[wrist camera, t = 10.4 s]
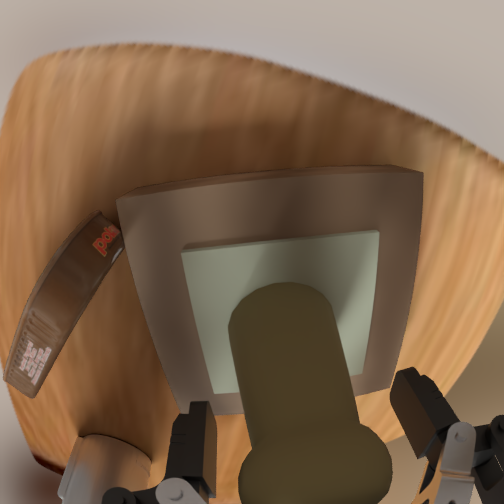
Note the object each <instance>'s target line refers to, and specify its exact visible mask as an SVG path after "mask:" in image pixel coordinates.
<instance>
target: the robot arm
mask: <svg viewBox="0 0 504 504" xmlns="http://www.w3.org/2000/svg"><path fill="white" fill-rule="evenodd" d="M390 402H391V405H392V408H393V409H394V411H395V413H396V415H397V417H398V419H399V421H400V424H401V426H402V428H403V430H404V432H405V434H406V436H407V438H408V440H409V442H410V444H411V446H412V448H413V450H414V453H415V455H416V457H417V459H419V458H422V457H424V456H426V457H427V459H428V460H427V462H426V465H425V468H424V471H423V475H422V478H421V481H420V484H419V487H418V490H417V493H416V495H415V498H414V499H413V501H412V502H411V504H469V503H470V498H471V495H472V490H473V485H474V484H475V486H476V489H477V491H478V494H479V496H480V498H481V501H482V504H504V415H499V416H496V417H495V418H494V419H493V420H492V422H491V423H490V424H487V425H482V426H476V427H473V426H472V425H471V424H469V423H467V422H461V421H460V420H459V419H458V418H457V416H456V415H455V413H454V411H453V410H452V408H451V407H450V405H449V404H448V402H447V401H446V399H445V398H444V397H443V395H442V393H441V392H440V391H439V389H438V387H437V386H436V384H435V383H434V381H433V380H431V379H430V378H429V377H427V376H426V375H422V376H420V374H419V373H418V371H417V370H416V369H415V368H414V367H410V368H407V369H403V370H400V371H397V373H396V375H395V379H394V382H393V385H392V388H391V392H390ZM171 434H172V436H171V439H170V446H169V452H168V459H167V466H166V473H165V477H164V479H163V480H162V481H161V483H160V484H158V485H157V486H155V487H153V488H150V489H147V486H148V480H149V476H150V469H151V461H150V459H149V458H148V457H147V456H146V454H144V453H143V452H142V451H140V450H139V449H137V448H135V447H134V446H132V445H130V444H128V443H125V442H123V441H120V440H118V439H115V438H112V437H108V436H103V435H87V436H86V437H84V438H81V437H77V439H76V442H75V444H74V447H73V450H72V452H71V455H70V458H69V461H68V463H67V466H66V469H65V472H64V475H63V478H62V481H61V484H60V487H59V490H58V496H59V497H60V498H62V499H63V502H62V504H209V498H216V460H217V425H216V420H215V417H214V414H213V411H212V408H211V405H210V402H209V401H191V402H190V406H189V414H179V415H178V417H177V418H176V420H175V421H174V423H173V426H172V433H171ZM495 456H496V457H495ZM496 458H497V459H496ZM497 460H498V461H497ZM498 462H499V463H498ZM499 464H500V465H499ZM500 466H501V467H500ZM501 468H502V469H501ZM502 470H503V471H502Z"/></svg>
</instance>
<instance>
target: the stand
mask: <svg viewBox="0 0 504 504" xmlns="http://www.w3.org/2000/svg"><path fill="white" fill-rule="evenodd" d="M115 201H116V206H117V211H118V216H119V221H120V226H121V230H122V235H123V239H124V243H125V248H126V252H127V256H128V260H129V264H130V268H131V271H132V275H133V279H134V282H135V286H136V289H137V293H138V296H139V300H140V303H141V306H142V310H143V313H144V316H145V319H146V322H147V325H148V328H149V331H150V334H151V337H152V340H153V343H154V346H155V349H156V352H157V354H158V357H159V360H160V363H161V365H162V368H163V371H164V373H165V376H166V378H167V381H168V383H169V386H170V388H171V391H172V393H173V396H174V398H175V400H176V403H177V405H178V407H179V410H180V412H181V414H189V406H190V402H191V401H209V402H210V405H211V408H212V411H213V414H214V415H233V414H244V410H243V406H242V401H241V396H240V392H239V387H238V382H237V377H236V372H235V367H234V362H233V357H232V352H231V347H230V342H229V334H228V324H229V321H230V317H231V314H232V312H233V310H234V309H235V308H236V306H237V305H238V304H239V302H240V301H241V300H242V299H243V298H245V297H246V296H247V295H249V294H250V293H252V292H253V291H254V290H256V289H258V288H261V287H264V286H267V285H270V284H273V283H283V282H295V283H300V284H304V285H309V286H311V287H312V288H314V289H316V290H317V291H319V292H321V293H322V294H323V295H324V296H325V297H326V299H327V300H328V301H329V303H330V304H331V305H332V309H333V313H334V316H335V320H336V324H337V327H338V331H339V335H340V339H341V343H342V347H343V351H344V355H345V359H346V363H347V367H348V371H349V375H350V380H351V384H352V388H353V393H354V397H355V396H360V395H364V394H368V393H372V392H376V391H380V390H383V389H387V388H390V385H391V382H392V379H393V375H394V372H395V368H396V365H397V361H398V357H399V354H400V350H401V346H402V342H403V337H404V333H405V329H406V324H407V319H408V315H409V309H410V304H411V299H412V293H413V287H414V281H415V274H416V267H417V260H418V252H419V243H420V232H421V220H422V205H423V172H419V171H415V170H411V169H407V168H403V167H399V166H394V165H360V166H331V167H311V168H295V169H282V170H269V171H258V172H248V173H238V174H229V175H221V176H212V177H205V178H197V179H190V180H183V181H176V182H169V183H163V184H157V185H151V186H145V187H139V188H136V189H134V190H132V191H131V192H129V193H127V194H125V195H123V196H121V197H120V198H118V199H116V200H115Z"/></svg>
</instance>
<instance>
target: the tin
mask: <svg viewBox="0 0 504 504" xmlns="http://www.w3.org/2000/svg"><path fill="white" fill-rule="evenodd" d="M124 248H125V243H124V239H123V235H122V231H121V230H120V229H119V228H118V227H116V226H115V225H114V224H113V223H112V222H110V221H109V220H108V219H107V218H105V217H104V216H103V215H102V212H101V211H100V210H97V211H95V212H93V213H91V214H90V215H89V216H88V217H86V218H85V219H84V220H83V221H82V222H81V223H80V224H79V225H78V226H77V227H76V229H75V230H74V231H73V232H72V233H71V234H70V235H69V236H68V238H67V239H66V240H65V241H64V242H63V244H62V245H61V246H60V247H59V249H58V250H57V251H56V253H55V254H54V256H53V257H52V258H51V260H50V262H49V263H48V265H47V266H46V268H45V269H44V271H43V273H42V274H41V276H40V278H39V279H38V281H37V283H36V285H35V286H34V288H33V290H32V293H31V294H30V296H29V299H28V300H27V303H26V305H25V308H24V310H23V313H22V316H21V318H20V321H19V324H18V327H17V330H16V333H15V336H14V339H13V343H12V346H11V349H10V352H9V356H8V359H7V363H6V367H5V370H4V374H3V380H4V381H5V382H8V383H9V384H11V385H12V386H13V387H15V388H16V389H17V390H19V391H20V392H21V393H23V394H24V395H26V396H27V397H29V398H31V399H33V398H35V397H36V395H37V393H38V391H39V390H40V388H41V386H42V384H43V382H44V380H45V379H46V377H47V375H48V373H49V371H50V370H51V368H52V366H53V364H54V362H55V360H56V359H57V357H58V355H59V353H60V351H61V349H62V347H63V346H64V344H65V342H66V340H67V339H68V337H69V335H70V333H71V332H72V330H73V328H74V327H75V325H76V323H77V321H78V320H79V318H80V316H81V315H82V313H83V311H84V310H85V308H86V307H87V305H88V303H89V302H90V300H91V299H92V297H93V295H94V294H95V292H96V290H97V289H98V287H99V285H100V284H101V282H102V281H103V279H104V277H105V276H106V274H107V273H108V271H109V270H110V268H111V267H112V265H113V264H114V262H115V261H116V259H117V258H118V256H119V255H120V254H121V252H122V251H123V249H124Z"/></svg>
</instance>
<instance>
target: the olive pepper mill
mask: <svg viewBox="0 0 504 504" xmlns="http://www.w3.org/2000/svg"><path fill="white" fill-rule="evenodd" d="M228 334H229V342H230V347H231V352H232V357H233V362H234V367H235V372H236V377H237V382H238V387H239V392H240V396H241V401H242V406H243V410H244V415H245V419H246V424H247V428H248V433H249V437H250V442H251V446H252V450H251V451H250V452H249V454H248V455H247V457H246V458H245V460H244V461H243V463H242V466H241V470H240V473H239V477H238V492H239V496H240V500H241V503H242V504H378V503H379V502H380V501H381V500H382V498H384V497H385V495H386V494H387V493H388V491H389V488H390V484H391V481H392V473H393V471H392V459H391V456H390V454H389V452H388V449H387V447H386V445H385V444H384V443H383V441H382V440H381V439H380V438H379V437H378V435H377V434H376V433H375V432H373V431H372V430H371V429H370V428H369V427H367V426H364V425H362V424H360V421H359V416H358V411H357V406H356V402H355V397H354V393H353V388H352V384H351V380H350V375H349V371H348V367H347V363H346V359H345V355H344V351H343V347H342V343H341V339H340V335H339V331H338V327H337V324H336V320H335V316H334V313H333V309H332V305H331V304H330V303H329V301H328V300H327V299H326V297H325V296H324V295H323V294H322V293H321V292H319V291H317V290H316V289H314V288H312V287H311V286H309V285H304V284H300V283H295V282H283V283H273V284H270V285H267V286H264V287H261V288H258V289H256V290H254V291H253V292H252V293H250V294H249V295H247V296H246V297H245V298H243V299H242V300H241V301H240V302H239V304H238V305H237V306H236V308H235V309H234V310H233V312H232V314H231V317H230V321H229V324H228Z"/></svg>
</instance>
